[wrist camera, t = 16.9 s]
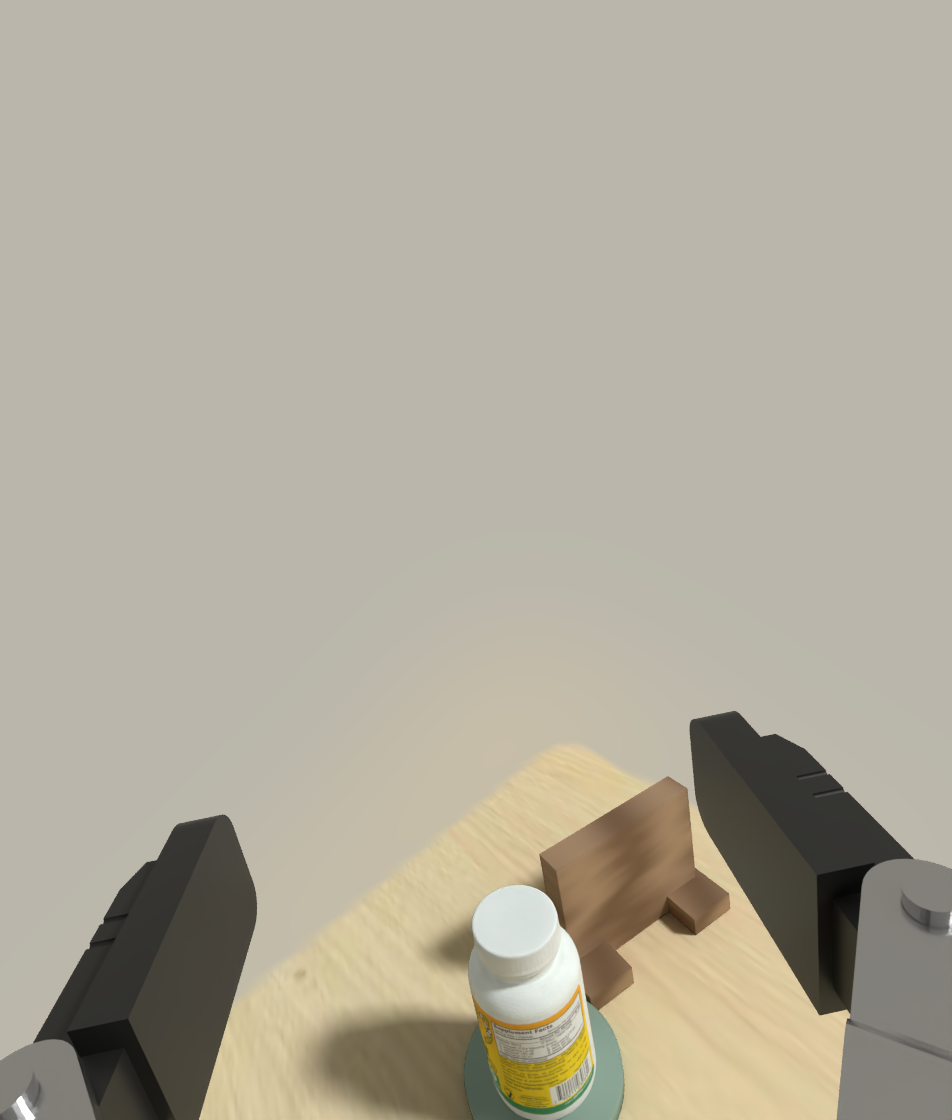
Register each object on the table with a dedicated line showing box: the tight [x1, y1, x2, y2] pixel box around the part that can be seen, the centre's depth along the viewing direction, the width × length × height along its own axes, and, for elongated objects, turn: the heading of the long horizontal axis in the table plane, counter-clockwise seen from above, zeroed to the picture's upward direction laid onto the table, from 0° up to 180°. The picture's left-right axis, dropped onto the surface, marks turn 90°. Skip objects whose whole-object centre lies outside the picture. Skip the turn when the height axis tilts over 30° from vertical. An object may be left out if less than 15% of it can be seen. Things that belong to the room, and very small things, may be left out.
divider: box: [539, 777, 730, 1010], centre depth 39 cm, size 11×6×8 cm, turn 120°
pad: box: [464, 1001, 624, 1120], centre depth 33 cm, size 8×8×1 cm
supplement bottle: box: [468, 885, 596, 1120], centre depth 31 cm, size 5×5×10 cm
